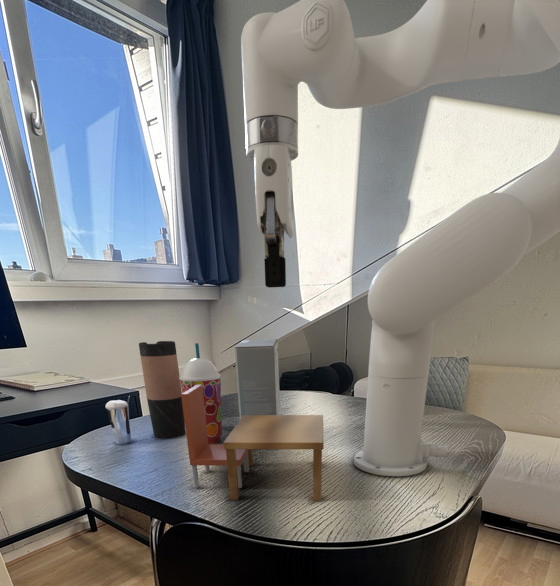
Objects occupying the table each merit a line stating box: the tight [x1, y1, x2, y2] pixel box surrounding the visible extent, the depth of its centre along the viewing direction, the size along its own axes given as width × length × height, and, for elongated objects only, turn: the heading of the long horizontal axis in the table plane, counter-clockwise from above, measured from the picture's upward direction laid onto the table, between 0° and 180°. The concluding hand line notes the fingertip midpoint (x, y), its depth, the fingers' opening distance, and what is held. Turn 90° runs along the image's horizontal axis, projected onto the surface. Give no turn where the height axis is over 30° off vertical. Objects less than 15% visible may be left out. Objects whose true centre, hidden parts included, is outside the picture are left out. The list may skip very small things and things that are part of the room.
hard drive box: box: [234, 338, 282, 420], centre depth 86 cm, size 16×8×20 cm, turn 178°
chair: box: [181, 385, 250, 489], centre depth 65 cm, size 8×8×15 cm
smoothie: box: [179, 342, 223, 444], centre depth 85 cm, size 8×8×20 cm
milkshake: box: [105, 395, 132, 445], centre depth 88 cm, size 4×5×10 cm
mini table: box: [223, 414, 325, 502], centre depth 66 cm, size 14×16×9 cm
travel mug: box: [138, 340, 186, 440], centre depth 91 cm, size 8×8×20 cm
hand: (275, 286), depth 66 cm, fingers closed
